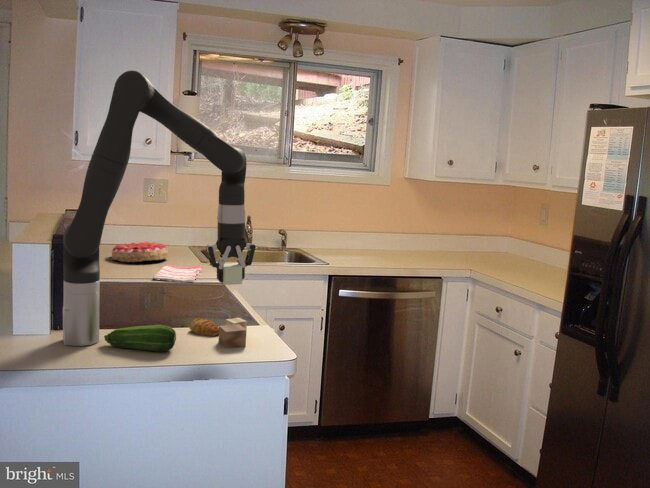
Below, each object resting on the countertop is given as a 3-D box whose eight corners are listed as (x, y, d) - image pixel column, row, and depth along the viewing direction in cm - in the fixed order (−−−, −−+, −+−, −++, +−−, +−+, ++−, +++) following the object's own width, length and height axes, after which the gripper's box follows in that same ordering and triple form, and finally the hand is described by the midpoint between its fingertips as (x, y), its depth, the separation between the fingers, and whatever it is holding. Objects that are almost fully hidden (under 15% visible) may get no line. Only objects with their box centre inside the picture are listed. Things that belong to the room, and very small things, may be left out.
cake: (169, 262, 297) (169, 245, 296) (111, 264, 290) (110, 246, 289) (167, 256, 320) (166, 240, 320) (113, 258, 314) (112, 241, 313)
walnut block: (225, 349, 183) (225, 331, 183) (218, 342, 189) (219, 325, 188) (245, 347, 186) (246, 330, 185) (238, 341, 191) (239, 324, 191)
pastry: (225, 334, 198) (226, 321, 197) (209, 339, 192) (210, 326, 192) (202, 327, 203) (203, 315, 202) (186, 332, 197) (187, 320, 197)
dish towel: (203, 272, 287) (203, 265, 286) (194, 284, 264) (194, 275, 263) (163, 270, 286) (164, 262, 286) (151, 281, 263) (151, 273, 263)
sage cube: (224, 285, 181) (224, 267, 180) (219, 281, 185) (219, 263, 185) (242, 284, 183) (242, 266, 182) (236, 280, 188) (236, 263, 187)
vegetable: (173, 323, 175) (101, 317, 178) (168, 350, 173) (96, 344, 175) (181, 329, 182) (112, 323, 185) (177, 355, 180) (107, 349, 182)
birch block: (233, 337, 194) (234, 323, 193) (225, 334, 197) (225, 319, 197) (246, 335, 197) (246, 321, 196) (238, 332, 200) (238, 317, 200)
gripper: (209, 223, 175) (209, 285, 178) (260, 221, 181) (259, 282, 184) (202, 219, 182) (202, 280, 185) (251, 218, 188) (250, 277, 191)
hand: (230, 280), depth 184 cm, fingers closed on sage cube, 5 cm apart
